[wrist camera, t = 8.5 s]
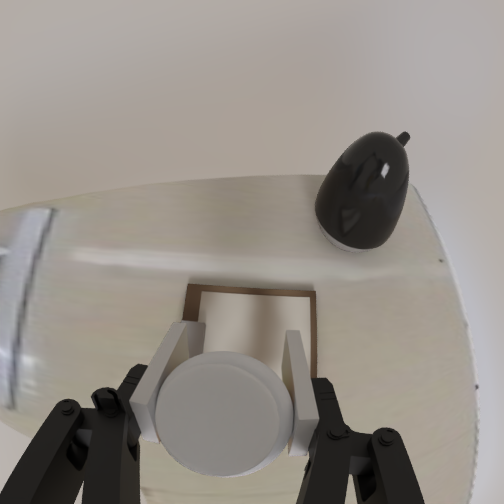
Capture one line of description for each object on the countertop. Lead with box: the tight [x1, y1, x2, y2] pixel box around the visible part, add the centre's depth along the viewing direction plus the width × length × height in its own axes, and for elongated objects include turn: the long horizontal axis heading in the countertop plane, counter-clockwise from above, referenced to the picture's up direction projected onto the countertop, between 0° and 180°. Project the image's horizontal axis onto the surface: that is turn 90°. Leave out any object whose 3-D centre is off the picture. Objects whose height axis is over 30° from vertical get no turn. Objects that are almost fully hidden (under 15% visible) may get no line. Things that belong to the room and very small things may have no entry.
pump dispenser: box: [315, 132, 410, 252], centre depth 27 cm, size 10×10×15 cm
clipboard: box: [181, 284, 317, 380], centre depth 25 cm, size 14×16×2 cm
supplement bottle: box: [155, 351, 294, 477], centre depth 11 cm, size 6×6×10 cm
